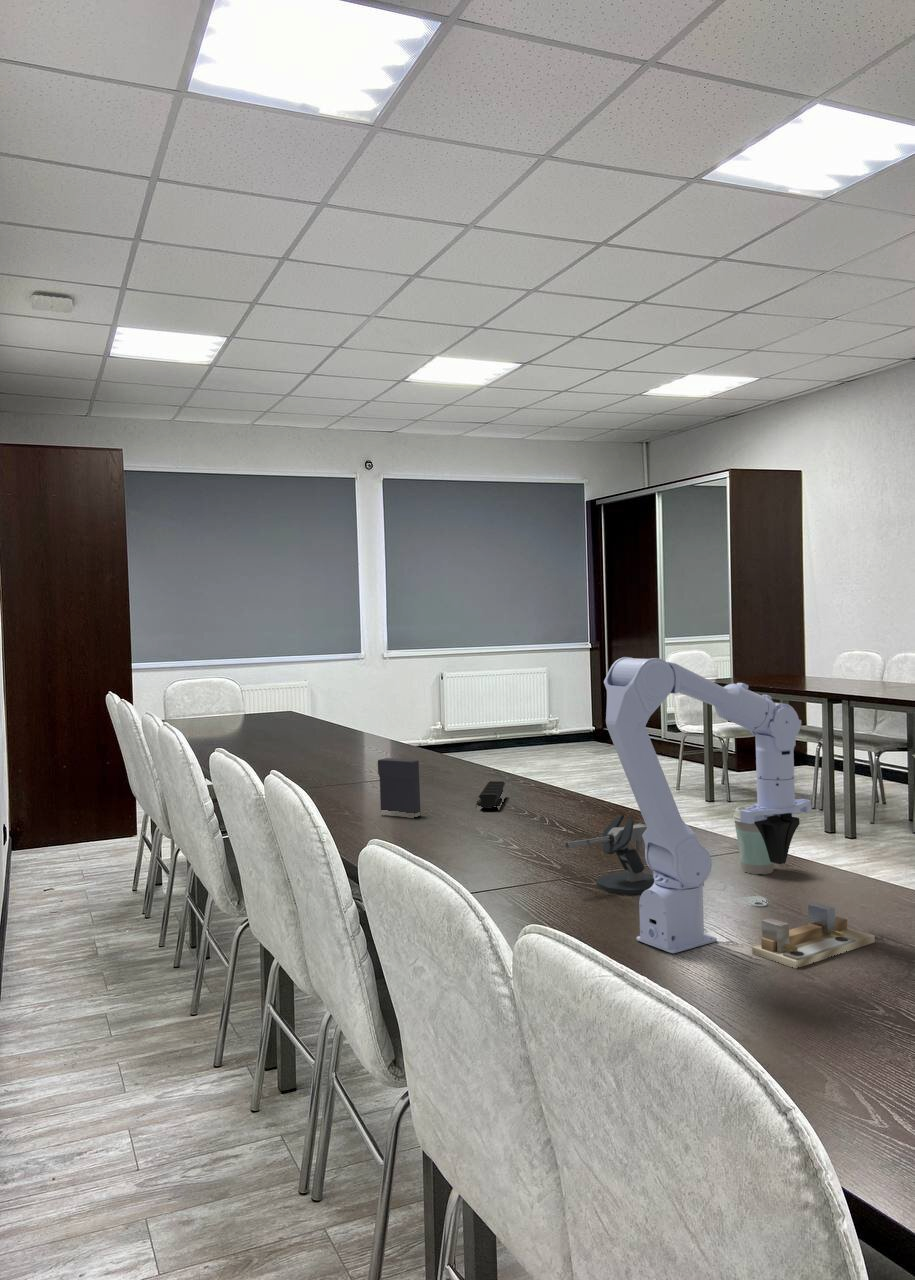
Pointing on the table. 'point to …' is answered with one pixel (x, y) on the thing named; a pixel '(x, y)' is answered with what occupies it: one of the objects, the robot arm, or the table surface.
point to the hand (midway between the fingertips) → (777, 862)
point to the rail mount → (491, 794)
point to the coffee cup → (751, 847)
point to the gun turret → (622, 858)
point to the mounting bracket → (750, 899)
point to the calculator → (399, 785)
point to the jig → (806, 942)
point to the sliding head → (824, 917)
